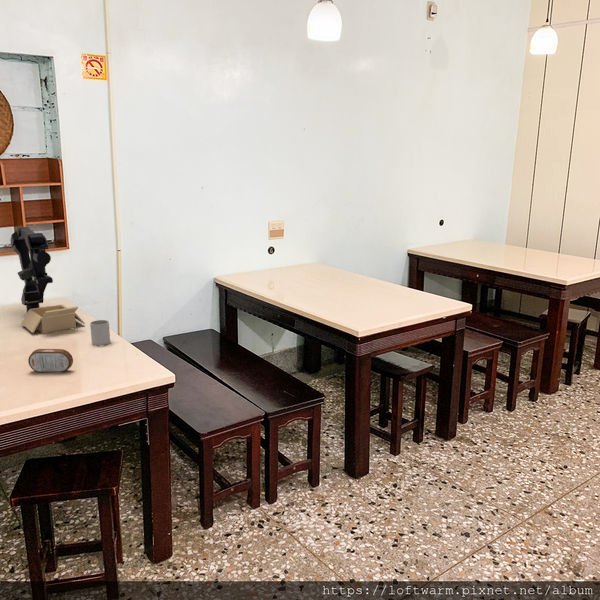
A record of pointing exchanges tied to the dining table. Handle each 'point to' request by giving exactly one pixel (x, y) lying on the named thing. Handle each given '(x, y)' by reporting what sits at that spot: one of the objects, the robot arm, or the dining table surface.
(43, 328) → the carton
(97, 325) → the cup
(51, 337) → the dining table surface
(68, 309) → the flap
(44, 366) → the tin
